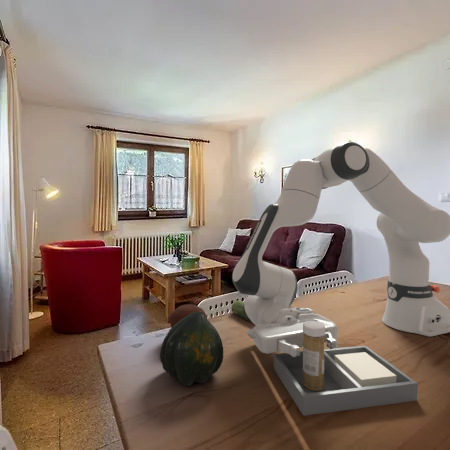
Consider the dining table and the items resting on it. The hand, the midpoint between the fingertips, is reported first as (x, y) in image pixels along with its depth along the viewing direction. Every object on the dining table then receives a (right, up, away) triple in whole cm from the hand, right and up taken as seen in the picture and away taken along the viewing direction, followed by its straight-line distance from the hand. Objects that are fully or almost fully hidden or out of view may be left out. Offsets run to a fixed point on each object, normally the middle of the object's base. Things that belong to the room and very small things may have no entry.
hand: (316, 349), depth 62 cm
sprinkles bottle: (0, -9, +1) cm, 9 cm away
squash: (-27, -9, +8) cm, 29 cm away
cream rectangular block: (+11, -8, +3) cm, 14 cm away
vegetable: (-12, -7, +43) cm, 45 cm away
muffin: (-30, -8, +25) cm, 40 cm away
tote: (+6, -9, +3) cm, 11 cm away
